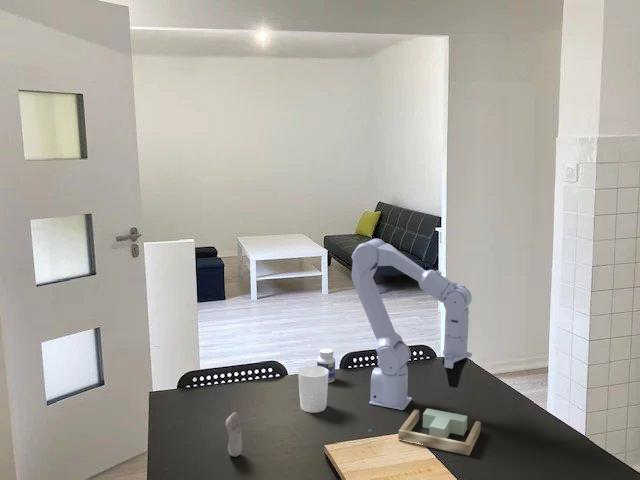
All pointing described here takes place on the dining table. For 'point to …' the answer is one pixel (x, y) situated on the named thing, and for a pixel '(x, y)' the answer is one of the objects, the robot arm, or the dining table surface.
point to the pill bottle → (327, 362)
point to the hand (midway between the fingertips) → (453, 386)
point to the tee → (444, 423)
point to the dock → (435, 441)
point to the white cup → (313, 388)
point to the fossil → (234, 434)
